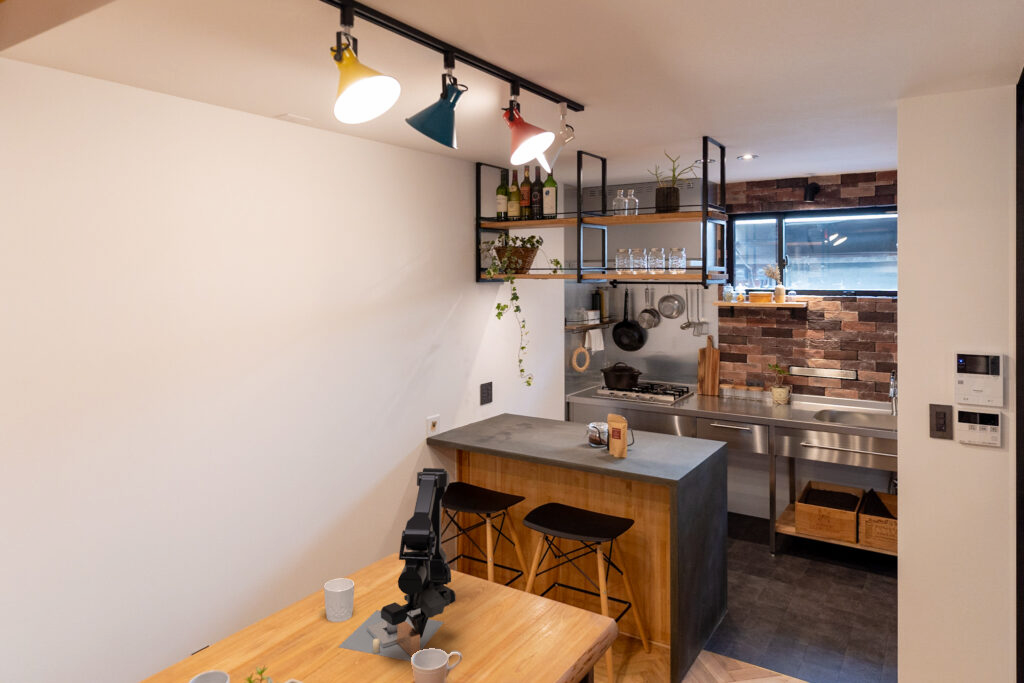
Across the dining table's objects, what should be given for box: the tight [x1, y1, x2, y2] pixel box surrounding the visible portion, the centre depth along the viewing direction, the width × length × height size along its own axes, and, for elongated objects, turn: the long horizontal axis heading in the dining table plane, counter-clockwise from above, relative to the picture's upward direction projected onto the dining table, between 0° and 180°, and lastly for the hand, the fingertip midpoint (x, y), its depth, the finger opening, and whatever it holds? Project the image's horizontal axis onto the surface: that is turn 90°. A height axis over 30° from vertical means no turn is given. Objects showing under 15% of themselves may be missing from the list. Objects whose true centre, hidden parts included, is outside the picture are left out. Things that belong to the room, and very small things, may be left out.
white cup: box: [323, 577, 355, 623], centre depth 184 cm, size 8×8×10 cm
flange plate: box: [367, 620, 420, 657], centre depth 172 cm, size 18×10×5 cm, turn 35°
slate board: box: [338, 609, 445, 662], centre depth 176 cm, size 20×20×4 cm
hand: (420, 637), depth 169 cm, fingers closed
